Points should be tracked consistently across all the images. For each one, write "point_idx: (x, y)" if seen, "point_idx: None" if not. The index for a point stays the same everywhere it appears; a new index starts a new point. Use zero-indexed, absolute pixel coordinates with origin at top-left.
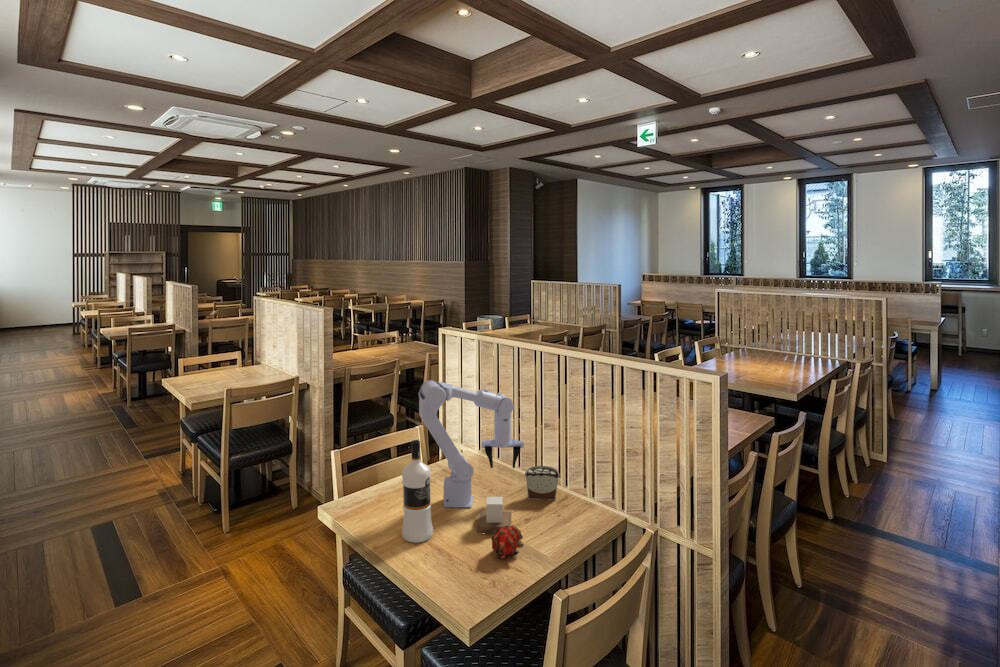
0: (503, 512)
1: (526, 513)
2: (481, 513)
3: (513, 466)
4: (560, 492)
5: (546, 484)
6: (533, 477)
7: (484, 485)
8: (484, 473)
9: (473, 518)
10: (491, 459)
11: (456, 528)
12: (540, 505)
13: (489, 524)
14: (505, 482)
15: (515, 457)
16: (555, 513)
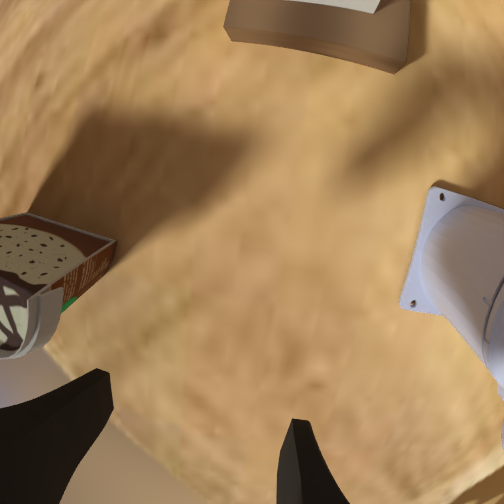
0: (271, 19)
1: (147, 88)
2: (399, 31)
3: (94, 377)
4: None
5: (1, 238)
6: (20, 270)
7: (311, 408)
8: None
9: (425, 76)
10: (306, 484)
11: (485, 25)
12: (76, 168)
13: None
14: (210, 413)
15: (22, 414)
16: (43, 96)
